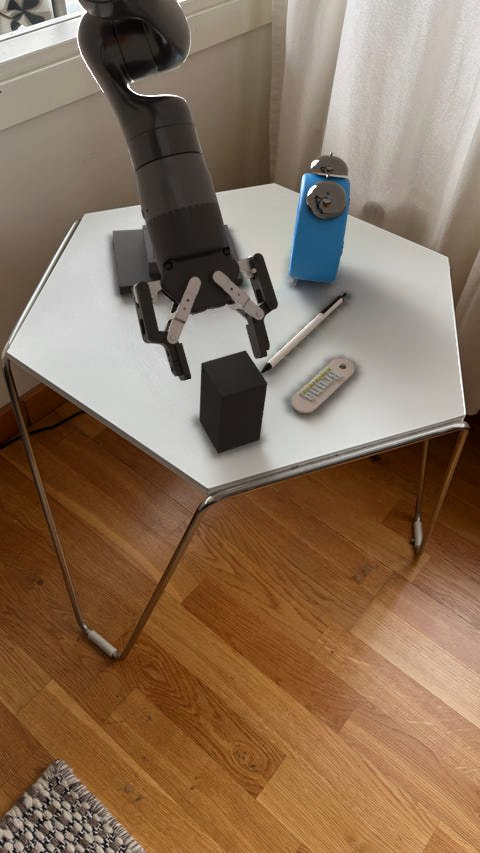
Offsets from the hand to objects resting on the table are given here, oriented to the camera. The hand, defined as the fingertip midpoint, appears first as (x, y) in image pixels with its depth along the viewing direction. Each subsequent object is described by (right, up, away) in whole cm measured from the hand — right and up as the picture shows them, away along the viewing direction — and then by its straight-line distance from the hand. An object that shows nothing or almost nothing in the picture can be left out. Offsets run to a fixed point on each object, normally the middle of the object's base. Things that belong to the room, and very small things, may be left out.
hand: (224, 368), depth 73 cm
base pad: (-7, +16, +23) cm, 29 cm away
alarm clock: (+11, +15, +24) cm, 30 cm away
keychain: (+11, -1, +10) cm, 15 cm away
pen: (+10, +5, +15) cm, 19 cm away
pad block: (0, -6, +5) cm, 8 cm away
